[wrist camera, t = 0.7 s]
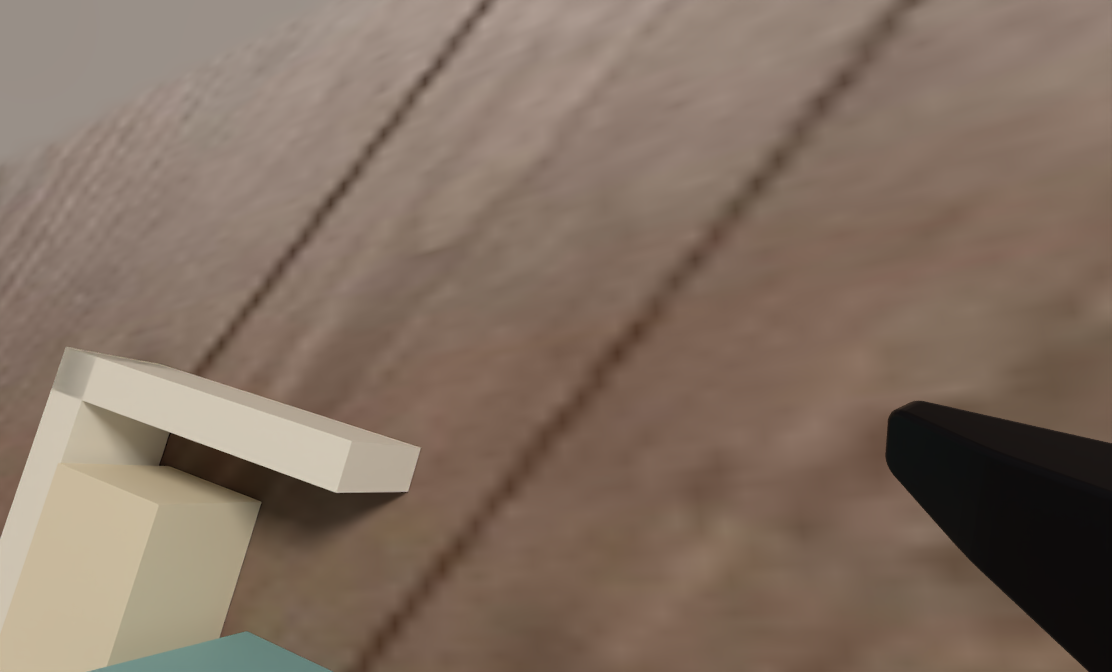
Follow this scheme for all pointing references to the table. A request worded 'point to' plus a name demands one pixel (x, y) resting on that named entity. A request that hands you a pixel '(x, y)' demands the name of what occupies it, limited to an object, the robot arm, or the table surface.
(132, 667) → the teal blank
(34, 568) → the cubby
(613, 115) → the table surface
